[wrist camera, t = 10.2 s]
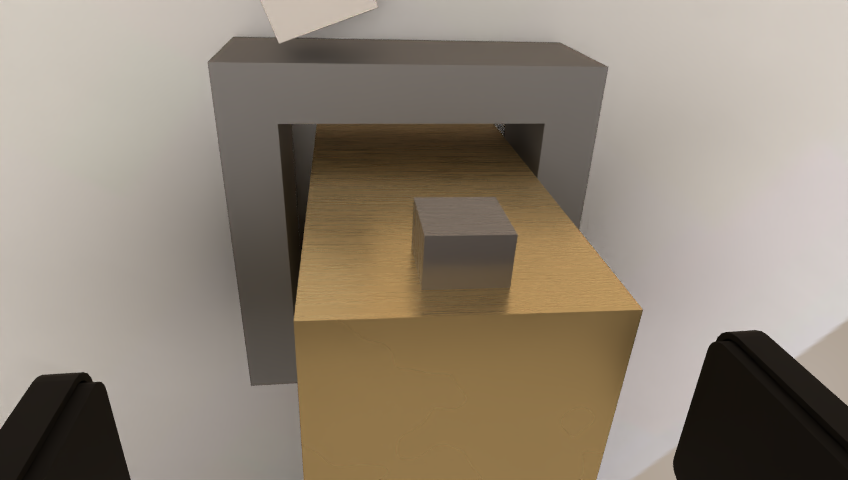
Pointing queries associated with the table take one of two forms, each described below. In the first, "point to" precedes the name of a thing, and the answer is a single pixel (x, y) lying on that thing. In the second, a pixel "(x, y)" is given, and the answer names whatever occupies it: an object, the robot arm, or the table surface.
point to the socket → (373, 104)
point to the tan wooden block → (450, 314)
